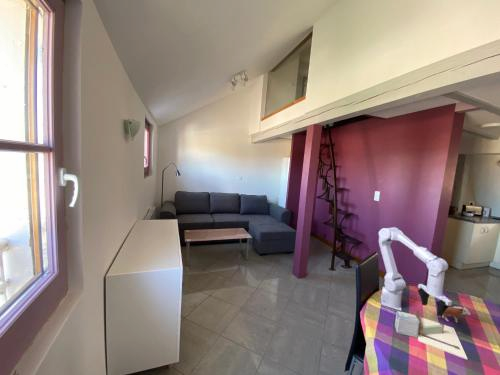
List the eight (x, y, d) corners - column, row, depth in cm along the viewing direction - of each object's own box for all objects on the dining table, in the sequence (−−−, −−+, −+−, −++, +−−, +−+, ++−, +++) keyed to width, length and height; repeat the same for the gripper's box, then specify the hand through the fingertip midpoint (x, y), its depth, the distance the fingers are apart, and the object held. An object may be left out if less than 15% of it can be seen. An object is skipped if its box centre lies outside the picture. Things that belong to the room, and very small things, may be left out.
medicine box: (413, 331, 101) (415, 314, 100) (417, 338, 97) (419, 321, 96) (394, 326, 103) (396, 310, 102) (397, 333, 99) (399, 316, 98)
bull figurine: (470, 325, 106) (473, 310, 105) (439, 320, 109) (442, 306, 108) (463, 319, 111) (466, 305, 110) (434, 314, 113) (436, 300, 112)
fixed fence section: (417, 331, 100) (418, 324, 100) (414, 317, 110) (415, 309, 110) (421, 333, 99) (422, 325, 99) (417, 318, 109) (418, 311, 109)
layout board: (418, 341, 95) (418, 340, 95) (412, 315, 112) (413, 314, 112) (467, 359, 87) (467, 358, 87) (453, 329, 104) (453, 327, 103)
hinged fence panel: (419, 335, 98) (420, 327, 97) (416, 332, 99) (417, 325, 99) (444, 333, 100) (445, 326, 99) (440, 330, 101) (441, 323, 101)
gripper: (458, 292, 95) (455, 320, 96) (427, 275, 109) (424, 300, 110) (445, 292, 94) (441, 321, 95) (415, 276, 108) (412, 300, 109)
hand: (431, 310), depth 102 cm, fingers open, 7 cm apart
